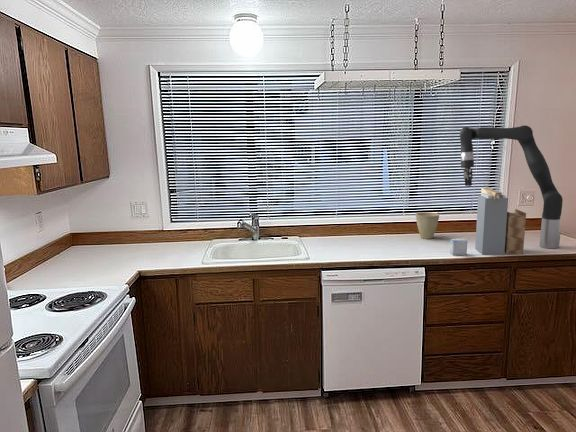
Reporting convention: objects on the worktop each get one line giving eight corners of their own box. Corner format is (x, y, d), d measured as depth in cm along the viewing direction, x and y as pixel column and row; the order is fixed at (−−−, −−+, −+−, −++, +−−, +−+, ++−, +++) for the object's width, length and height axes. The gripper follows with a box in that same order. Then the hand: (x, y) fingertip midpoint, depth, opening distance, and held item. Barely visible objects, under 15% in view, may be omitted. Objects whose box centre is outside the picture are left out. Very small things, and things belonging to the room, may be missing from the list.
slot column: (496, 249, 254) (500, 192, 248) (504, 254, 243) (508, 195, 237) (475, 248, 256) (478, 192, 250) (482, 254, 244) (485, 195, 238)
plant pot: (443, 239, 281) (444, 215, 278) (422, 241, 278) (423, 216, 275) (430, 234, 295) (431, 211, 292) (410, 236, 292) (411, 212, 289)
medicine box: (463, 253, 248) (464, 238, 246) (466, 255, 243) (467, 240, 242) (449, 253, 248) (450, 238, 246) (452, 255, 243) (453, 240, 242)
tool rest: (513, 248, 255) (516, 209, 251) (522, 254, 243) (526, 213, 238) (497, 248, 256) (500, 209, 252) (506, 254, 244) (509, 213, 239)
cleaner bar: (487, 193, 257) (487, 187, 256) (504, 199, 232) (504, 193, 231) (481, 193, 257) (481, 187, 257) (497, 199, 232) (498, 193, 231)
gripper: (476, 158, 260) (477, 185, 261) (471, 159, 274) (472, 185, 275) (463, 159, 262) (464, 186, 263) (458, 160, 275) (459, 186, 276)
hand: (468, 185), depth 269 cm, fingers open, 8 cm apart
